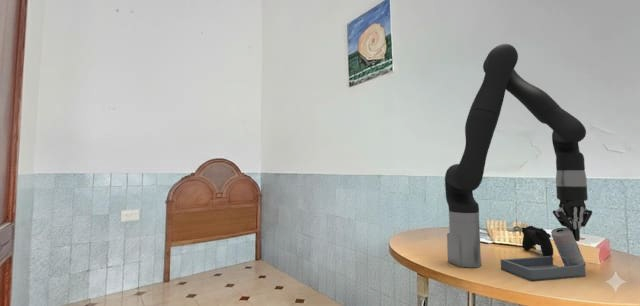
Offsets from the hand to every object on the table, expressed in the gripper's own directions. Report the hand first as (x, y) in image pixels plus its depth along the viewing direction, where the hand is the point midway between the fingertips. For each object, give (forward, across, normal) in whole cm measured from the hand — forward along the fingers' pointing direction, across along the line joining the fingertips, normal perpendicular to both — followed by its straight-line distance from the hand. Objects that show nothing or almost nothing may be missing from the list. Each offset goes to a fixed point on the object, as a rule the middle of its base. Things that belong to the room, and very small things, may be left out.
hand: (574, 240), depth 96 cm
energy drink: (+8, 0, 0) cm, 8 cm away
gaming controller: (+9, +5, +18) cm, 21 cm away
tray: (+9, -13, 0) cm, 16 cm away
